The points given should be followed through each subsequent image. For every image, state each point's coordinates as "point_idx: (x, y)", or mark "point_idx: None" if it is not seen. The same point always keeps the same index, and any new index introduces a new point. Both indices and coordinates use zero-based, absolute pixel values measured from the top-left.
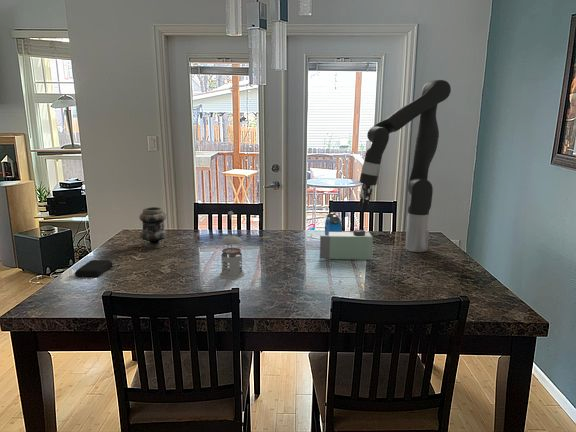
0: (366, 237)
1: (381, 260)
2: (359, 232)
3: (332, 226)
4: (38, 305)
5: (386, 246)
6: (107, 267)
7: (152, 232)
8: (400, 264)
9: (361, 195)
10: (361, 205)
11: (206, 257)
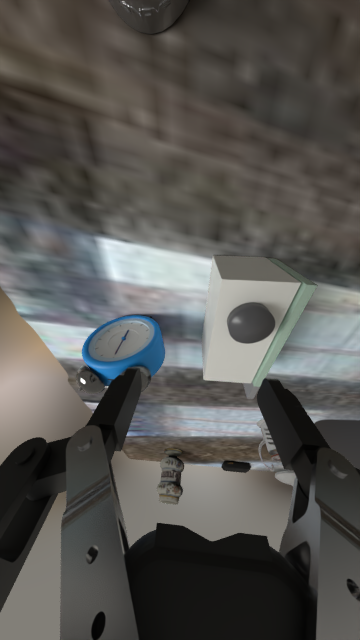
0: (302, 306)
1: (280, 224)
2: (269, 330)
3: (153, 369)
4: (290, 470)
5: (122, 160)
6: (236, 464)
7: (181, 471)
8: (350, 151)
9: (119, 506)
10: (136, 388)
11: (209, 433)
